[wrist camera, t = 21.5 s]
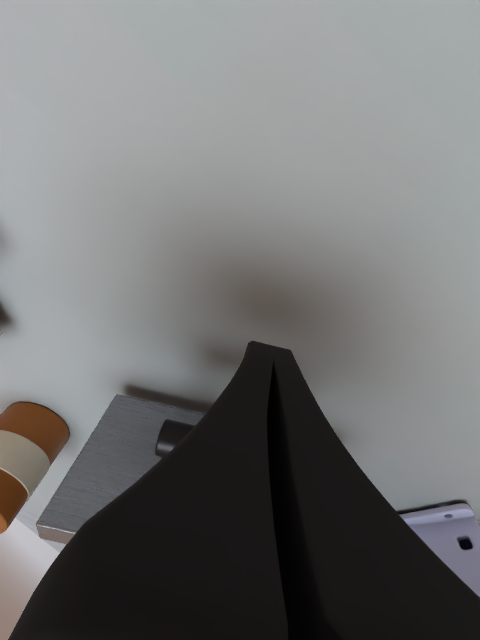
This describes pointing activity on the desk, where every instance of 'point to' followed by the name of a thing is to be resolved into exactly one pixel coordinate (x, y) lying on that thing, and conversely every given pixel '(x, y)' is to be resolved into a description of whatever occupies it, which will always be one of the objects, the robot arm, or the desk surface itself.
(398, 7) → the desk surface
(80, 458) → the drawer
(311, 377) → the desk surface
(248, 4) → the desk surface
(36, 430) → the bottle
